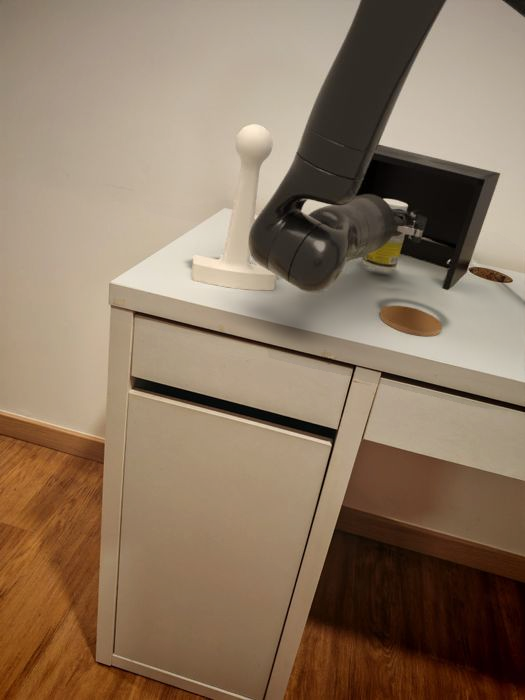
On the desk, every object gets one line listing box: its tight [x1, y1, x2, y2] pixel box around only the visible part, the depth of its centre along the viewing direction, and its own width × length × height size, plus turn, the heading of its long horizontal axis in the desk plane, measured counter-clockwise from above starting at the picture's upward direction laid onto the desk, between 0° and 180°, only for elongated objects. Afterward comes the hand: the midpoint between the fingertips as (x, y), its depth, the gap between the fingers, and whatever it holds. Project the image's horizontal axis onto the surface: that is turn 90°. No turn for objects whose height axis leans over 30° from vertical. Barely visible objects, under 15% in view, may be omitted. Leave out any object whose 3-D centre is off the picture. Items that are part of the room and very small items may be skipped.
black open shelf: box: [356, 144, 501, 291], centre depth 97 cm, size 13×22×17 cm, turn 60°
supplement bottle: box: [361, 199, 408, 272], centre depth 88 cm, size 5×5×10 cm
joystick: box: [190, 123, 277, 291], centre depth 75 cm, size 11×8×20 cm
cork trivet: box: [379, 305, 443, 337], centre depth 76 cm, size 8×8×1 cm
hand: (396, 212), depth 88 cm, fingers closed on supplement bottle, 5 cm apart
